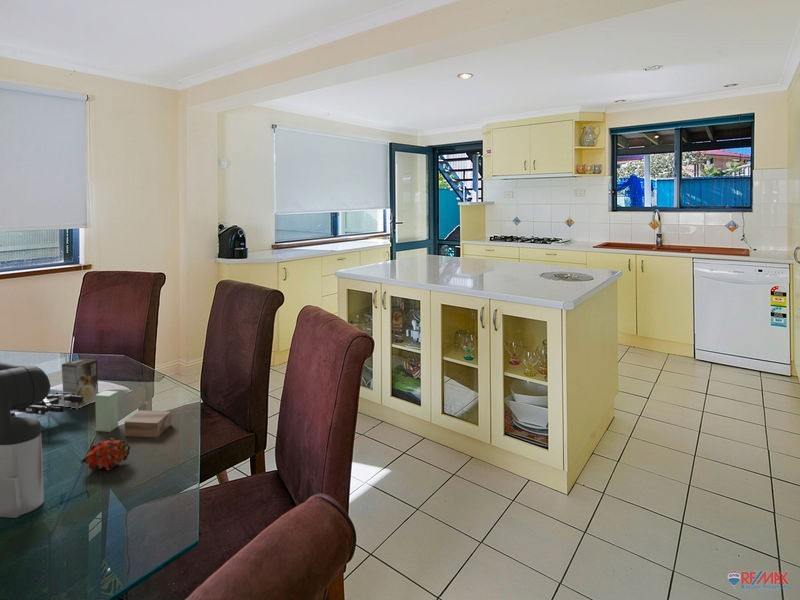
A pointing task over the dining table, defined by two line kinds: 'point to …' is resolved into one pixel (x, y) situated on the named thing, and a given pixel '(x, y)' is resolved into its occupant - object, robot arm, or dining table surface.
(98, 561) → the dining table surface
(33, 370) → the robot arm
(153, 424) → the tan flat square block
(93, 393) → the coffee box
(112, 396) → the sage block
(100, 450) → the dragon fruit
